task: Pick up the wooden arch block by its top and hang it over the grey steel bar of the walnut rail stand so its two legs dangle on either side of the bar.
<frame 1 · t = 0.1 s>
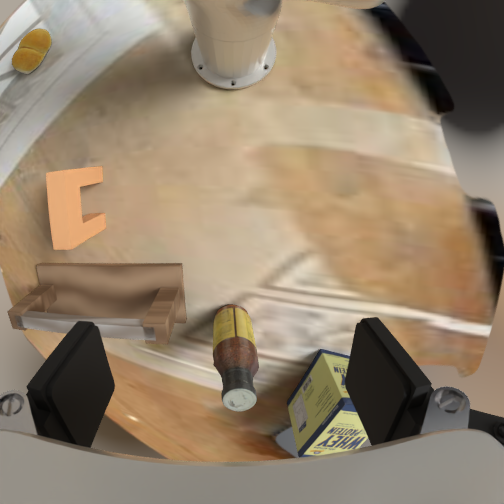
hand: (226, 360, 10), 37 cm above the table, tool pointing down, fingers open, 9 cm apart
rail stand: (106, 290, 48), on the table
protein box: (323, 381, 57), on the table
bread roll: (35, 53, 34), on the table
wooden arch block: (95, 198, 43), on the table
sauce bottle: (233, 318, 51), on the table
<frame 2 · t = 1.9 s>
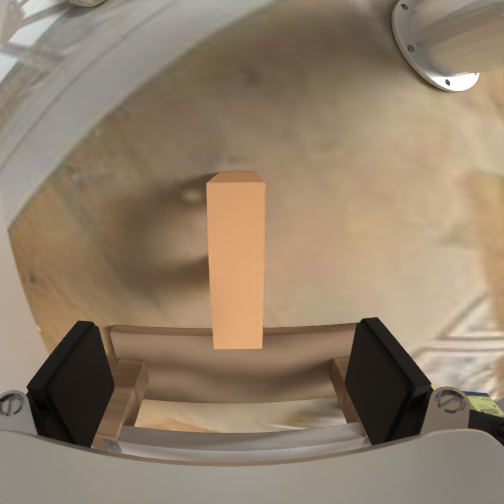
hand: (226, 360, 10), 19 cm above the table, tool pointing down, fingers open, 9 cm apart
rail stand: (238, 364, 33), on the table
protein box: (450, 420, 41), on the table
wooden arch block: (236, 225, 28), on the table
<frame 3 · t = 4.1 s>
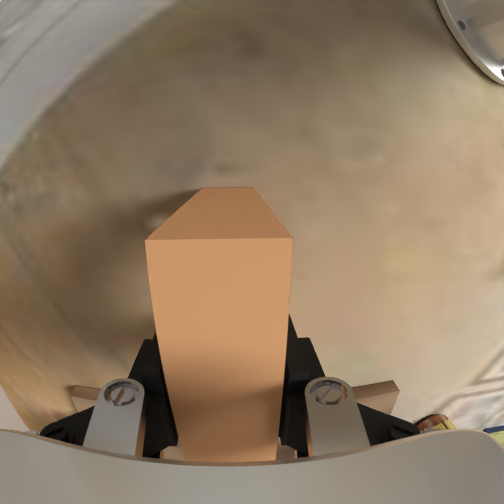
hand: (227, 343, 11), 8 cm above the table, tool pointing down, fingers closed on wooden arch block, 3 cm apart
rail stand: (235, 434, 24), on the table
wooden arch block: (229, 268, 19), on the table, touching gripper
sauce bottle: (425, 428, 27), on the table
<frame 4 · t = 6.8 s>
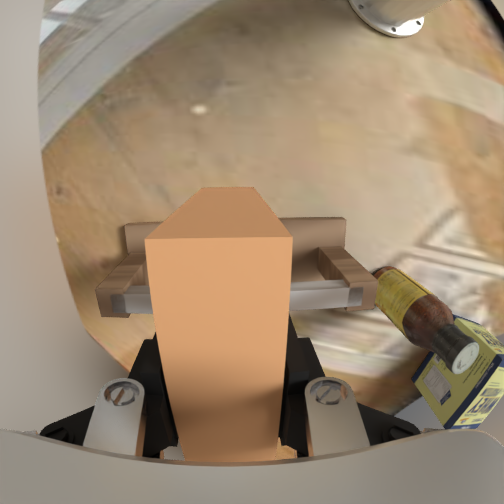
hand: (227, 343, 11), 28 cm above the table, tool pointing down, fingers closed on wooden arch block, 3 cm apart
rail stand: (235, 256, 39), on the table
protein box: (446, 350, 48), on the table
wooden arch block: (228, 268, 19), point 20 cm above the table, touching gripper
sauce bottle: (385, 283, 42), on the table
when the fingers open (15 cm above the table, at t = 9.5 s): wooden arch block drops 1 cm, resting on rail stand.
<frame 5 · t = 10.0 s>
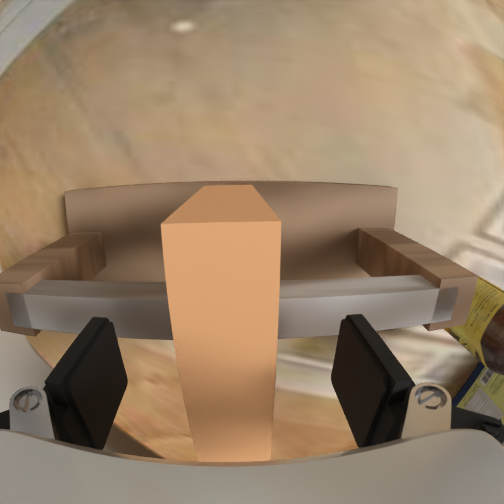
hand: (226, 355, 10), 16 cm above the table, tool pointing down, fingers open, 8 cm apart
rail stand: (229, 241, 25), on the table
protein box: (489, 368, 34), on the table
wooden arch block: (229, 260, 20), point 5 cm above the table, touching rail stand
sauce bottle: (437, 285, 28), on the table
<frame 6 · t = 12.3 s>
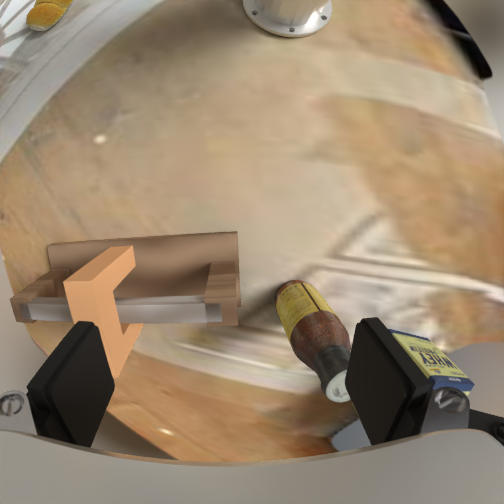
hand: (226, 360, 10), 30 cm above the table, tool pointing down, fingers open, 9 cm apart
rail stand: (138, 272, 40), on the table
protein box: (388, 367, 48), on the table
bread roll: (53, 11, 28), on the table
wooden arch block: (127, 285, 35), point 5 cm above the table, touching rail stand
sauce bottle: (296, 297, 43), on the table
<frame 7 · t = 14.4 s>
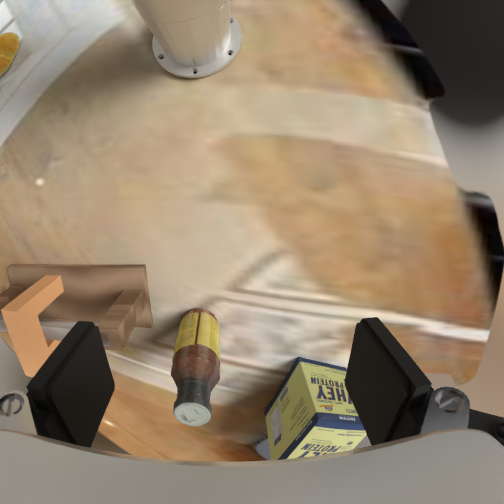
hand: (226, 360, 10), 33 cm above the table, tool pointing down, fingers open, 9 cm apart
rail stand: (73, 292, 44), on the table
protein box: (304, 390, 53), on the table
bread roll: (5, 57, 31), on the table
wooden arch block: (60, 305, 39), point 5 cm above the table, touching rail stand
sauce bottle: (201, 323, 47), on the table
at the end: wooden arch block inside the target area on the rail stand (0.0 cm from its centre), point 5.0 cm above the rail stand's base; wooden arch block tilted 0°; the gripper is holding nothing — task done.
